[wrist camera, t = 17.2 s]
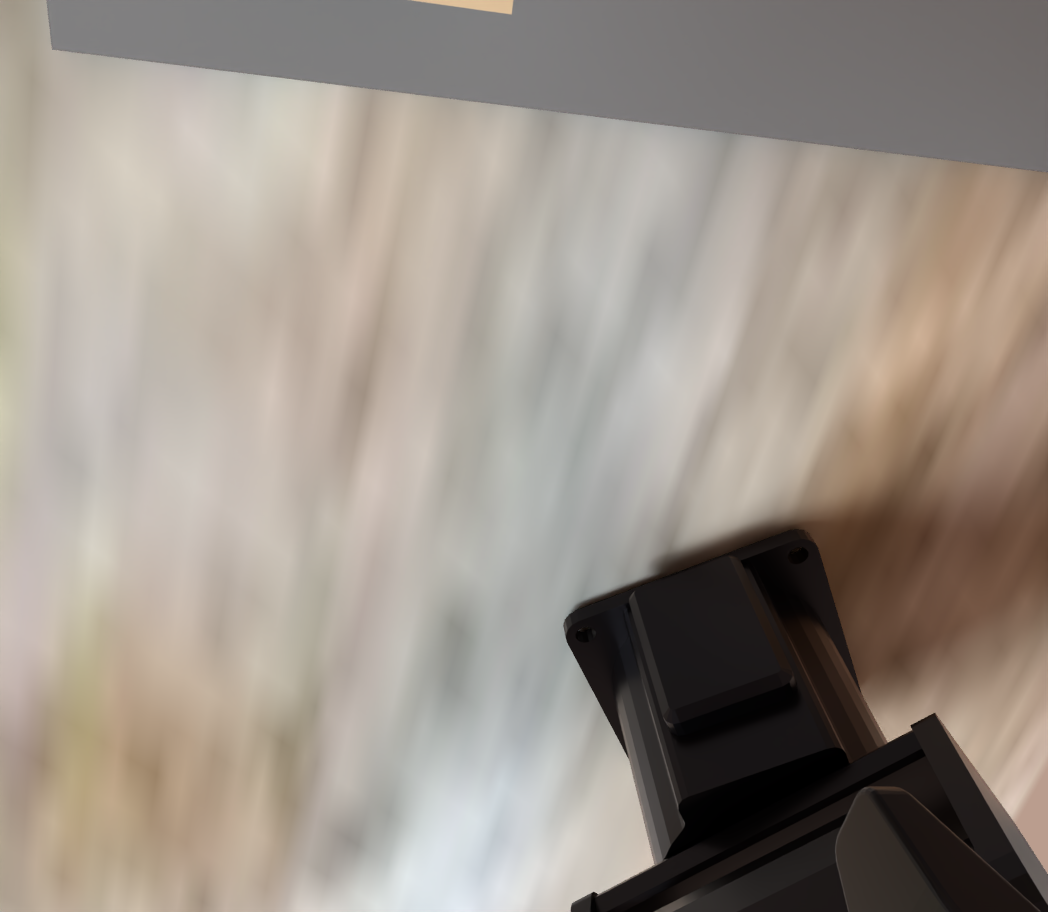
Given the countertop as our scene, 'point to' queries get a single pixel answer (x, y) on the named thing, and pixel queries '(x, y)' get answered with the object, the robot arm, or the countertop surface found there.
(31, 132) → the countertop surface
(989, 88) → the mat
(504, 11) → the block
